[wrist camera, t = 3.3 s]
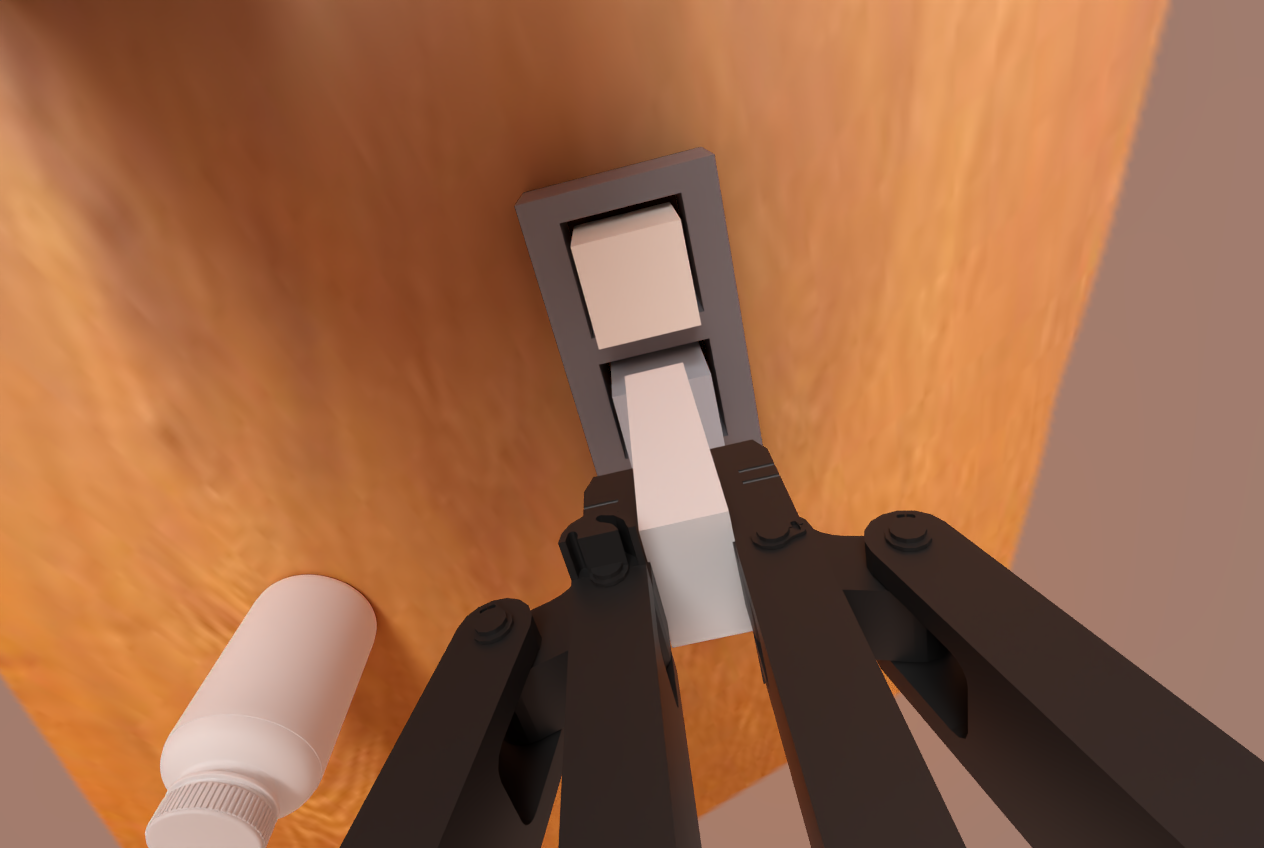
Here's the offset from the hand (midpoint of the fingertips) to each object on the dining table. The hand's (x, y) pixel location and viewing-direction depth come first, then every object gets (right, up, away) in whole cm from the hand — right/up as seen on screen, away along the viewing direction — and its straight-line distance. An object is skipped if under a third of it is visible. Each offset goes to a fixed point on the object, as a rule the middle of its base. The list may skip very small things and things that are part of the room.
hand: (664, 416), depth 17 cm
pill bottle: (-22, -13, +27) cm, 37 cm away
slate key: (+1, +2, +18) cm, 18 cm away
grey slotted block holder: (+1, +3, +20) cm, 20 cm away
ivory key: (-1, +8, +15) cm, 17 cm away
